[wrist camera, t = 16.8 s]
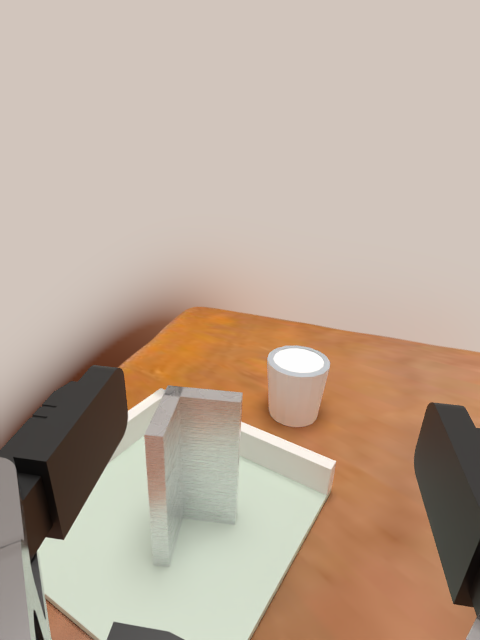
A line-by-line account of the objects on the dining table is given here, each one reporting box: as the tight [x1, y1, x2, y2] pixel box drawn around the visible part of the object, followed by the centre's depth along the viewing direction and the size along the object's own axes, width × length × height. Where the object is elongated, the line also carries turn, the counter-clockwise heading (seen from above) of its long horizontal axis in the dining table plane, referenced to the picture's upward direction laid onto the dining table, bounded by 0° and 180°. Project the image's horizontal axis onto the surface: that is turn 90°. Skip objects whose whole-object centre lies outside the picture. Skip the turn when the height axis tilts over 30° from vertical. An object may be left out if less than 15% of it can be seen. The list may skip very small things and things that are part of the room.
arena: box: [38, 388, 336, 640], centre depth 35 cm, size 20×20×4 cm
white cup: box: [267, 346, 330, 427], centre depth 48 cm, size 7×7×7 cm
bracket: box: [144, 386, 243, 567], centre depth 31 cm, size 6×6×12 cm
